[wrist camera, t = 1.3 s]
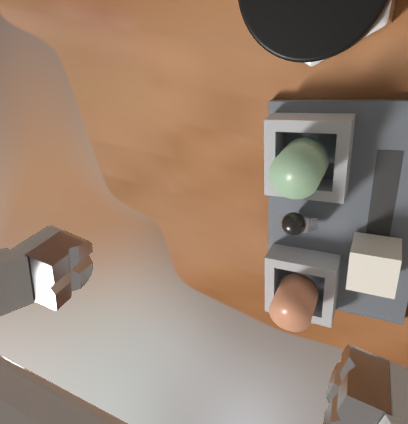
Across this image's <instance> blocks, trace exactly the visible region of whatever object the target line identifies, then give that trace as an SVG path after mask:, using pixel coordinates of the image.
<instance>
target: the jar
mask: <svg viewBox="0 0 408 424" xmlns="http://www.w3.org/2000/svg"><path fill="white" fill-rule="evenodd" d="M238 1H239V7H240V11H241V14H242V17H243V20H244V22H245V24H246V26H247V28H248V30H249V32H250V33H251V35H252V36H253V38H254V39H255V40H256V41H257V42H258V43H259V44H260V45H261V46H262V47H263V48H264V49H265V50H267V51H268V52H270V53H271V54H273V55H275V56H277V57H279V58H281V59H284V60H288V61H292V62H302V63H306V64H307V65H309V66H314V65H316V64H318V63H320V62H322V61H324V60H326V59H328V58H330V57H333V56H335V55H337V54H339V53H341V52H343V51H345V50H347V49H349V48H350V47H352V46H354V45H355V44H356V43H358V42H360V41H361V40H363V39H365V38H367V37H369V36H370V35H372V34H374V33H376V32H378V31H379V30H381V29H383V28H385V27H387V26H388V25H390V24H391V22H392V18H393V13H394V7H395V2H396V0H238Z"/></svg>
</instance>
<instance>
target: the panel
mask: <svg viewBox="0 0 408 424" xmlns="http://www.w3.org/2000/svg"><path fill="white" fill-rule="evenodd" d="M301 137H309V138H313V139H316V140H317V141H319V142H320V143H322V144H323V145H324V147H325V148H326V150H327V152H328V155H329V165H328V168H327V170H326V172H325V174H324V176H323V178H322V180H321V182H320V184H319V186H318V188H317V189H316V191H315V192H314V193H313V194H312V195H310V196H308V197H306V198H303V199H289V198H286V197H284V196H282V195H280V194H279V193H278V192H277V191H276V190H275V189H274V188H273V186H272V184H271V182H270V179H269V169H270V166H271V163H272V162H273V160H274V159H275V158H276V157H277V156H278V155H279V154H280V152H281V151H282V150H283V149H284V148H285V147H286V146H287V145H288V144H289V143H290V142H291V141H293V140H295V139H297V138H301ZM264 195H269V251H268V253H267V255H266V256H265V311H267V312H269V306H270V304H271V302H272V300H273V297H274V295H275V293H276V291H277V289H278V287H279V285H280V282H281V280H282V279H283V278H284V277H285V276H287V275H289V274H302V275H305V276H307V277H308V278H310V279H311V280H313V281H314V283H315V284H316V285H317V287H318V290H319V297H318V300H317V303H316V307H315V310H314V313H313V317H312V320H311V323H314V324H318V325H322V326H326V327H330V328H331V326H332V322H333V318H334V313H335V309H337V310H341V311H345V312H349V313H354V314H358V315H362V316H367V317H371V318H375V319H380V320H384V321H388V322H392V323H397V324H401V325H403V322H404V317H405V313H406V308H407V303H408V99H276V100H270V101H269V117H267V118H266V119H264ZM290 212H297V213H300V214H301V215H304V216H311V217H319V224H318V230H315V231H312V232H309V233H303V232H302V233H301V234H299V235H296V236H291V235H288V234H287V233H285V232H284V230H283V229H279V222H280V215H286V214H288V213H290ZM354 232H359V233H367V234H374V235H381V236H388V237H395V238H402V263H401V269H400V274H399V279H398V284H397V289H396V295H395V299H390V298H385V297H380V296H376V295H371V294H366V293H361V292H356V291H352V290H347V289H346V281H347V273H348V264H349V256H350V250H351V245H352V241H353V236H354Z"/></svg>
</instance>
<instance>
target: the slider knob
mask: <svg viewBox="0 0 408 424" xmlns="http://www.w3.org/2000/svg"><path fill="white" fill-rule="evenodd" d="M401 263H402V238H395V237H388V236H381V235H374V234H367V233H359V232H354V236H353V241H352V245H351V250H350V256H349V264H348V273H347V281H346V289H347V290H352V291H356V292H361V293H366V294H371V295H376V296H380V297H385V298H390V299H395V295H396V289H397V284H398V279H399V274H400V269H401Z"/></svg>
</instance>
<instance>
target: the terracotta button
mask: <svg viewBox="0 0 408 424" xmlns="http://www.w3.org/2000/svg"><path fill="white" fill-rule="evenodd" d="M318 297H319V290H318V287H317V285H316V284H315V283H314V281H313V280H311V279H310V278H308V277H307V276H305V275H302V274H289V275H287V276H285V277H284V278H283V279H282V280H281V282H280V285H279V287H278V289H277V291H276V293H275V295H274V297H273V300H272V302H271V304H270V306H269V314H270V317H271V319H272V320H273V321H274V322H275V323H276V324H277V325H278V326H279V327H281V328H283V329H285V330H287V331H291V332H300V331H303V330H305V329H307V328H308V327H309V325H310V323H311V320H312V317H313V313H314V310H315V307H316V303H317V300H318Z"/></svg>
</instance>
